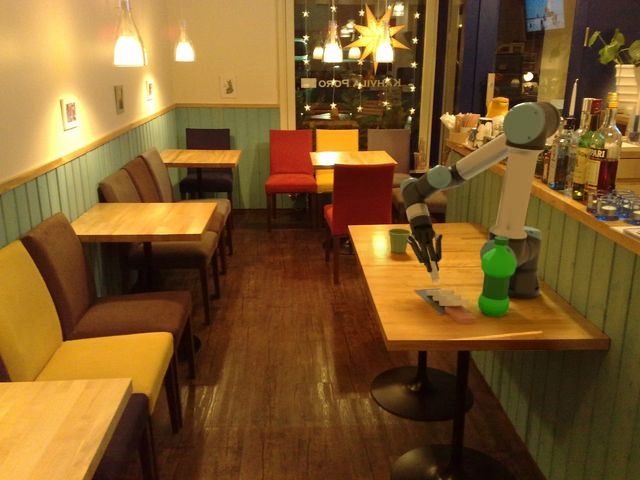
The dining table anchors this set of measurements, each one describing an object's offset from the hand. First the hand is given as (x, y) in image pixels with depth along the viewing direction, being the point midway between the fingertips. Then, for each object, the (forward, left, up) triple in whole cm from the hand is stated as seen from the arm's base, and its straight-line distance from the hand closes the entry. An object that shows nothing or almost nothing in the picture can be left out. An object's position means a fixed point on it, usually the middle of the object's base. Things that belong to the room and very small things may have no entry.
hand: (436, 280), depth 201 cm
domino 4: (-2, +12, -5) cm, 13 cm away
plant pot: (+1, -52, -6) cm, 52 cm away
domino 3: (-1, +8, -4) cm, 10 cm away
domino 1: (0, -1, -5) cm, 5 cm away
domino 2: (-1, +4, -5) cm, 6 cm away
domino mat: (-1, +5, -6) cm, 8 cm away
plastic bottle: (-15, +14, -6) cm, 21 cm away
